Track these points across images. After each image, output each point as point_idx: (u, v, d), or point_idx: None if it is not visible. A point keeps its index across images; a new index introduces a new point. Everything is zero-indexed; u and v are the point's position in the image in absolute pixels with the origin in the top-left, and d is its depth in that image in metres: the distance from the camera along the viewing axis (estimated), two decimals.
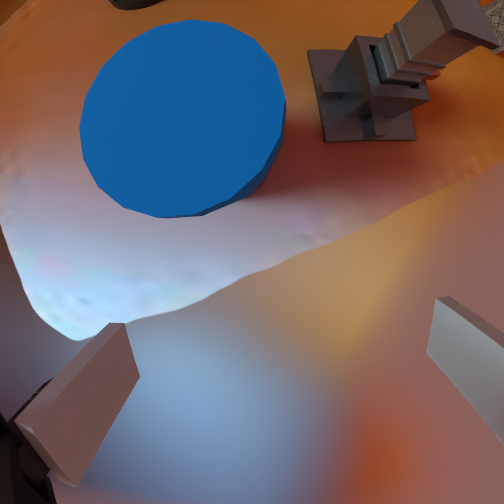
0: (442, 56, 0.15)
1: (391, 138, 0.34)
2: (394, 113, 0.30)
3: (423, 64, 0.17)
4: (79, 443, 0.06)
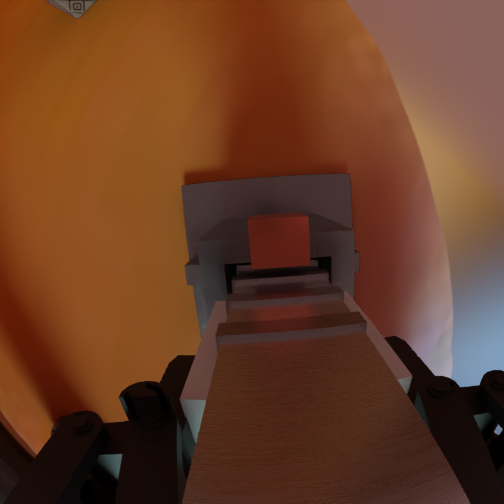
0: None
1: (350, 224, 0.23)
2: None
3: None
4: None
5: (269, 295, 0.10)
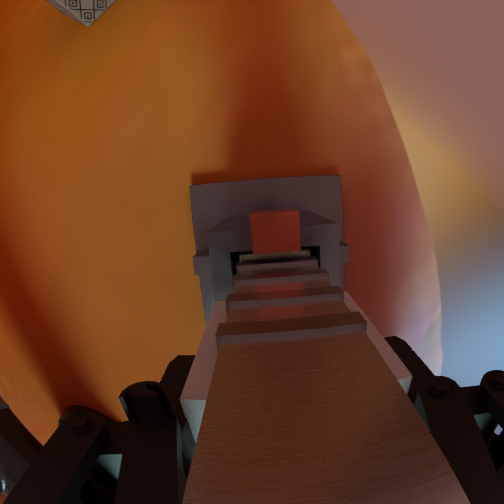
0: None
1: (341, 220, 0.26)
2: None
3: None
4: None
5: (269, 295, 0.10)
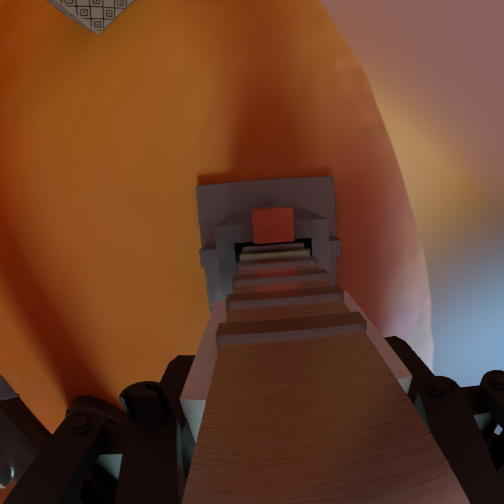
0: None
1: (334, 217, 0.28)
2: None
3: None
4: None
5: (269, 295, 0.10)
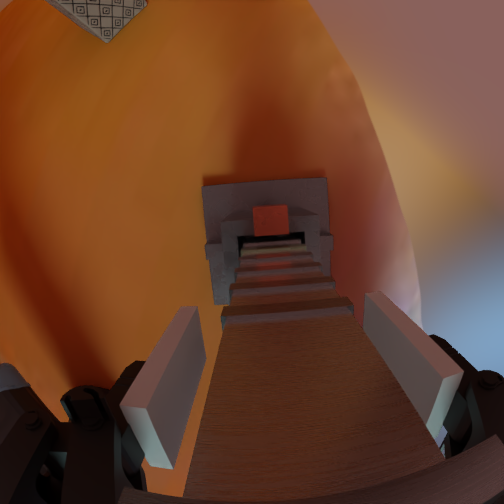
0: None
1: (327, 215, 0.31)
2: None
3: None
4: (175, 422, 0.07)
5: (268, 284, 0.12)
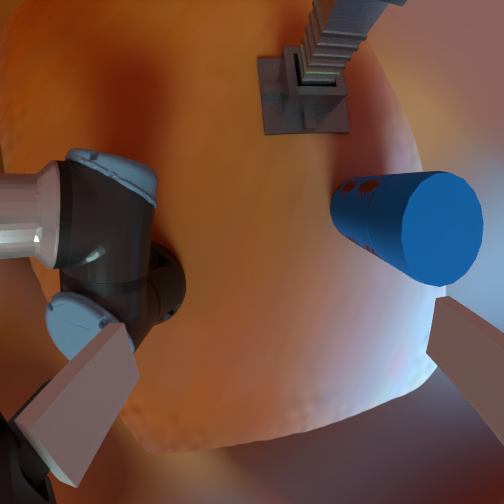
0: None
1: None
2: None
3: None
4: (79, 443, 0.06)
5: None
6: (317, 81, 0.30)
